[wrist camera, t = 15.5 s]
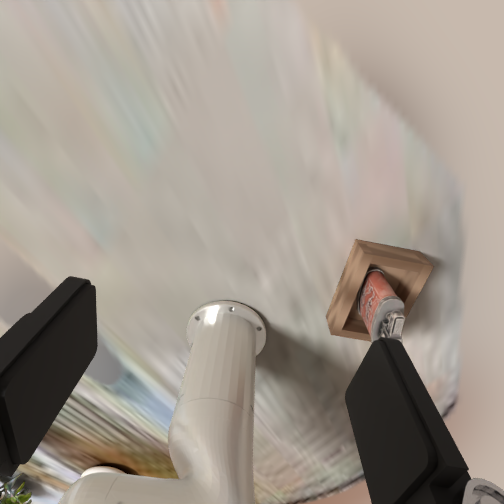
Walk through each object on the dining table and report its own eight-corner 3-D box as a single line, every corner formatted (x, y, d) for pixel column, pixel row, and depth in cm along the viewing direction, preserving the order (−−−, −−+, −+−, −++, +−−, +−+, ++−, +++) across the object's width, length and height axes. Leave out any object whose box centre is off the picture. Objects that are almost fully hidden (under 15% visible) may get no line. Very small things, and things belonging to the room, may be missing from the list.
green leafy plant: (13, 453, 78) (-49, 485, 67) (38, 451, 74) (-25, 485, 63) (21, 501, 76) (-42, 542, 66) (46, 502, 72) (-16, 546, 61)
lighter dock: (381, 326, 48) (391, 344, 45) (325, 316, 48) (330, 334, 44) (419, 251, 42) (433, 266, 38) (355, 239, 41) (364, 253, 38)
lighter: (376, 313, 46) (403, 367, 37) (353, 313, 46) (374, 366, 37) (386, 266, 42) (419, 313, 33) (361, 266, 42) (387, 313, 33)
